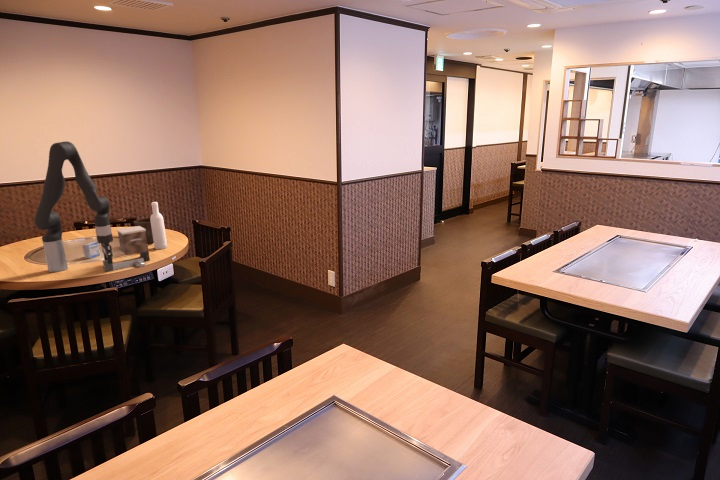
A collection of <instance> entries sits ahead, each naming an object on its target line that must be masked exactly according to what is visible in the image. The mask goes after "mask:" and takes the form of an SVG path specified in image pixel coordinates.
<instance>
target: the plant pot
mask: <svg viewBox="0 0 720 480" xmlns="http://www.w3.org/2000/svg"><path fill="white" fill-rule="evenodd" d="M133 225H134V227H135V226H141V227H143V228H144V229H146V231H145V232H146V238H147V244H148V245H154V244H153V243H154V241H153V234H152V228H151V221H150V217H147V218H140V219H136V220H134V221H133Z"/></svg>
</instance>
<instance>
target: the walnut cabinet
mask: <svg viewBox="0 0 720 480" xmlns="http://www.w3.org/2000/svg"><path fill="white" fill-rule="evenodd" d="M145 231H146V229H144V228H143V227H141V226H135V225H134V226H130V227H123V228H117V229H116V232H117V235H118V242H119V246H120V247H119V248H120V251H121V252H122V253H123V254H124V255H126V256H129V255H134V254H138V253H139V256H140V258H144V262H150V261H151V259H150V253H149V246H148V245H149V244H148V245H147V238H146V232H145Z"/></svg>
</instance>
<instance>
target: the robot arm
mask: <svg viewBox="0 0 720 480" xmlns="http://www.w3.org/2000/svg"><path fill="white" fill-rule="evenodd" d="M66 161H68V162H69V163H70V165H71V166H72V169H73V172H74V176H75V182H76V184H77V185H78V187H79V189H80V190H81V192H82V193H83V195H84V199H85V201H86V203H87V206H88V207H89V208H90V210H92V211H94V212H96V215H95V216H94V217H93V219H94V225H95V234H96V242H98V244H101V245H100V246H101V252H102V254H103V260H108V264H113V263H114V261H113V251H112V250H113V249H112V245H111V244H110V243H112V242H113V241H114V238H113V231H112V227H111V222H110V217H109V216H110V202H109V199H108V198H107V197H106V196H102V195H101V196H98V195H97V193H98V188H97V185H96V183H95V182H94V181H93V179H92V178H91V176H90V174H89V173H88V171H87V168H86V167H85V165H84V162H83V160H82V158H81V156H80V154H79V151H78V149H77V147H76V145H74V143H72V142H70V141H67V140H65V141H60V142H54V143H52V145H50V149H49V153H48V165H47V169H46V175H45V179H44V184H43V188H42V194H41V198H40V201H39V204H38V207H37V210H36V213H35V216H34V225H35V227H36V228H37V229H38V230H40V231H45V233H44V235H42V236H41V240H42V245H43V250H44V256H45V261H46V266H47V270H48V272H49V273H56V272H62V271H66V270H68V268H69V267H68V261H67V257H66V253H65V247H64V243H63V238H62V237H63V228H62V222H61V217H60V215H59V213H58V212H56V211H55V210H53V209H54V207H55V205H57V203H58V201H59V200H60V199H61V198H62V196H63V195H64V191H65V188H66V179H65V177H64V174H63V167H64V163H65V162H66ZM46 230H47V231H46Z"/></svg>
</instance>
